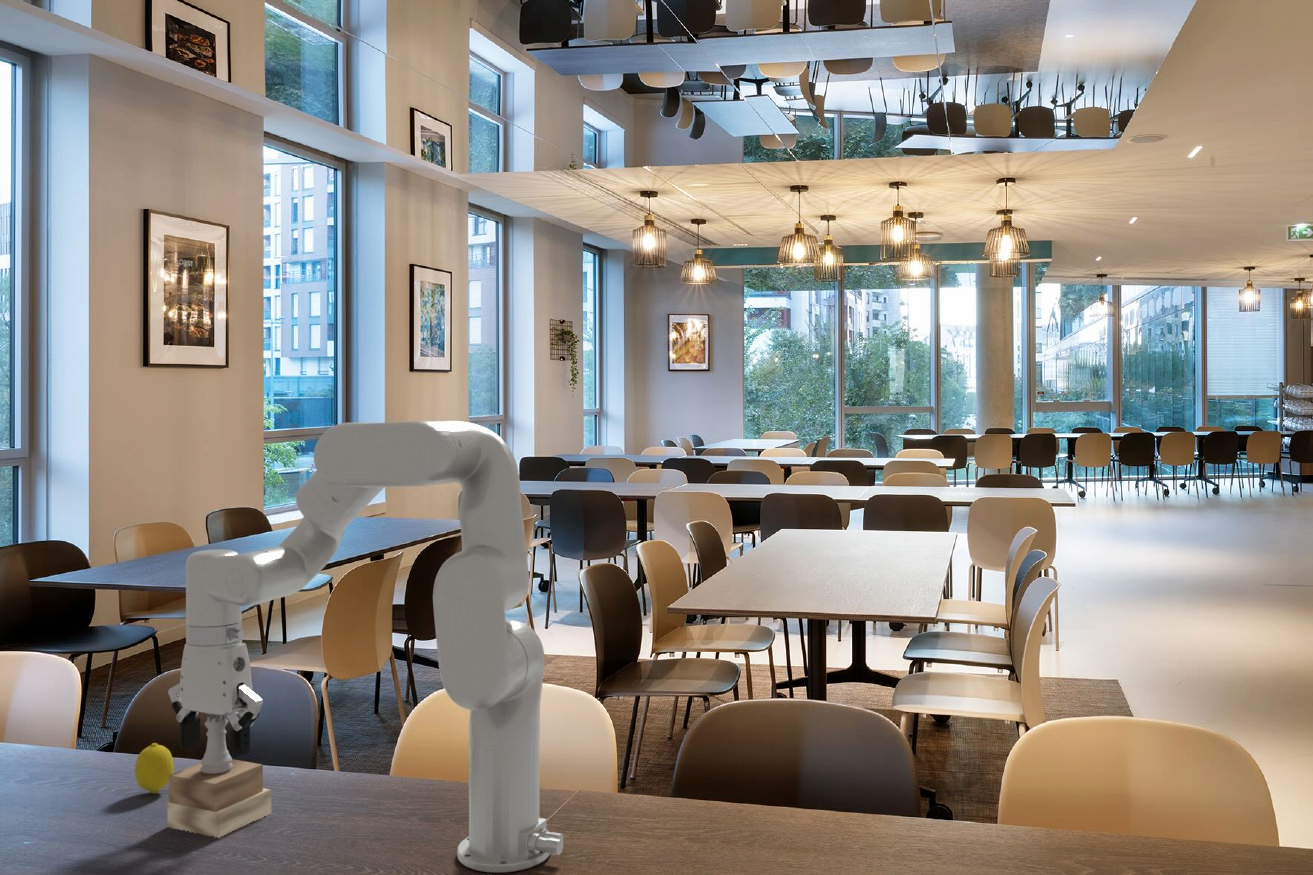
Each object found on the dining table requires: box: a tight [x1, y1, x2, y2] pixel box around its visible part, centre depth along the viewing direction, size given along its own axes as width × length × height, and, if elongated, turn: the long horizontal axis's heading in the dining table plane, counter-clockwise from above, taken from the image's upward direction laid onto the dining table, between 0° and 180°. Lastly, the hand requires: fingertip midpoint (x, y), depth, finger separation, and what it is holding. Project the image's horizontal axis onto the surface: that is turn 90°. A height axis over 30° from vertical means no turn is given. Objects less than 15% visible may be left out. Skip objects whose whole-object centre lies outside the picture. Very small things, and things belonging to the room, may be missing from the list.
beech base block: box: [166, 787, 272, 839], centre depth 153 cm, size 10×10×4 cm
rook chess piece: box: [200, 714, 233, 775], centre depth 152 cm, size 4×4×8 cm
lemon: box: [134, 742, 175, 795], centre depth 164 cm, size 6×6×8 cm
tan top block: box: [168, 758, 264, 812], centre depth 153 cm, size 9×9×4 cm
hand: (215, 750), depth 152 cm, fingers open, 9 cm apart
